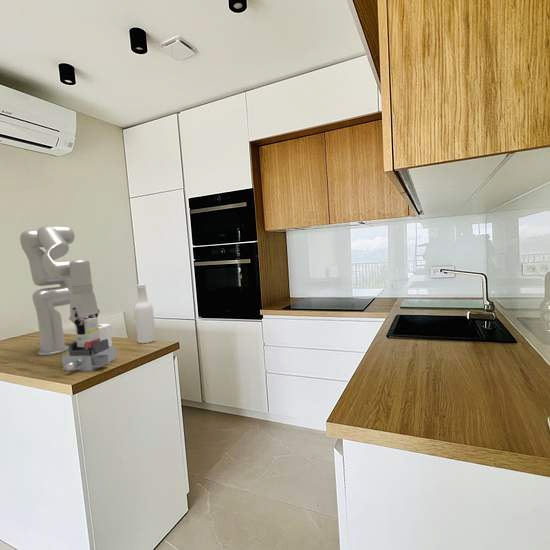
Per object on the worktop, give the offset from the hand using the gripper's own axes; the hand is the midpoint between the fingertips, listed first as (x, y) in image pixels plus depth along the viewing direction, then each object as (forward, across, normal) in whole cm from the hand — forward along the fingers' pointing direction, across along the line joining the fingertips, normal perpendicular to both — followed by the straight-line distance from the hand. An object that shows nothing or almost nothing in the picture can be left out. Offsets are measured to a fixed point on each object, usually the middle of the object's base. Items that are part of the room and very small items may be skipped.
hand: (87, 331), depth 137 cm
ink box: (+6, 0, 0) cm, 6 cm away
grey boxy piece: (+14, +2, +2) cm, 14 cm away
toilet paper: (+14, -18, -11) cm, 26 cm away
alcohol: (+14, -33, +4) cm, 36 cm away
